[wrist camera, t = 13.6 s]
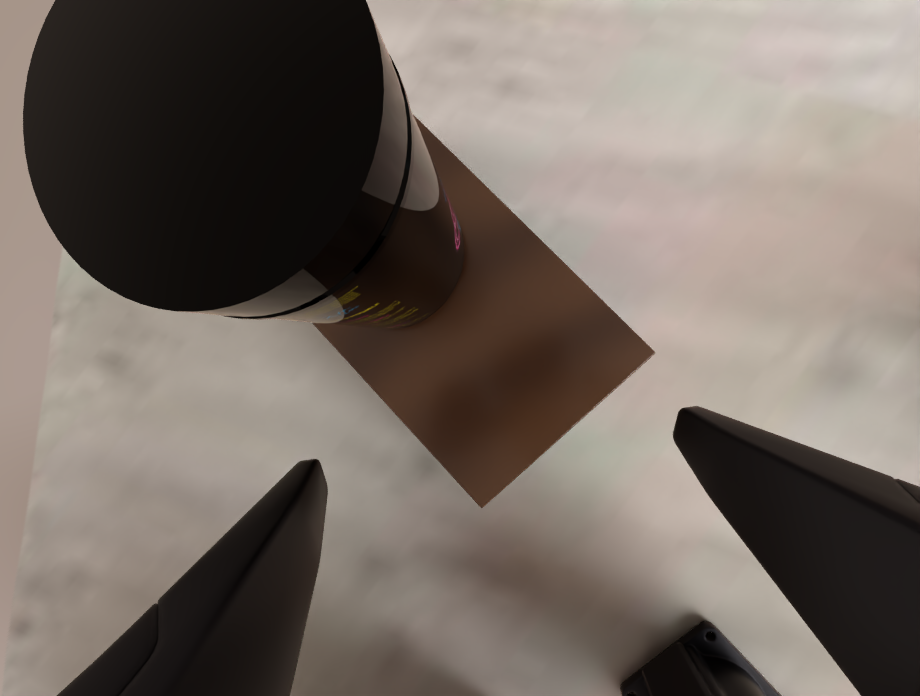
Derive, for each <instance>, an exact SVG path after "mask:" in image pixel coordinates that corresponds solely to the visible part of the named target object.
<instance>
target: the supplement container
mask: <svg viewBox="0 0 920 696" xmlns="http://www.w3.org/2000/svg"><path fill="white" fill-rule="evenodd" d="M23 134H24V145H25V154H26V159H27V164H28V170H29V174H30V178H31V182H32V185H33V189H34V192H35V194H36V197H37V200H38V202H39V205H40V208H41V210H42V212H43V214H44V216H45V218H46V220H47V222H48V224H49V226H50V227H51V229H52V231H53V232H54V234H55V236H56V237H57V239H58V240H59V242H60V243H61V244H62V246H63V247H64V248H65V250H66V251H67V252H68V254H69V255H70V256H71V257H72V258H73V259H74V260H75V261H76V262H77V263H78V265H79V266H80V267H81V268H83V269H84V270H85V271H86V272H87V273H88V274H89V275H91V276H92V277H93V278H94V279H95V280H97V281H98V282H100V283H101V284H103V285H104V286H105V287H107V288H108V289H110V290H112V291H114V292H115V293H117V294H119V295H121V296H123V297H125V298H127V299H130V300H132V301H135V302H137V303H140V304H143V305H147V306H150V307H154V308H158V309H164V310H171V311H179V312H190V313H201V314H212V315H222V316H226V317H232V318H239V319H257V320H263V319H281V320H291V321H301V322H312V323H322V324H332V325H343V326H353V327H363V328H374V329H387V330H392V329H401V328H406V327H409V326H413V325H415V324H417V323H420V322H422V321H423V320H425V319H427V318H429V317H430V316H431V315H433V314H434V313H435V312H436V311H438V310H439V309H440V308H441V307H442V306H443V305H444V304H445V302H446V301H447V300H448V299H449V297H450V296H451V294H452V293H453V291H454V289H455V287H456V285H457V283H458V281H459V278H460V276H461V272H462V268H463V263H464V252H465V251H464V238H463V233H462V229H461V226H460V223H459V220H458V218H457V216H456V213H455V211H454V209H453V206H452V204H451V202H450V199H449V197H448V195H447V192H446V190H445V188H444V185H443V183H442V181H441V178H440V176H439V174H438V172H437V169H436V167H435V165H434V162H433V160H432V158H431V155H430V153H429V151H428V148H427V146H426V144H425V141H424V139H423V137H422V134H421V132H420V130H419V128H418V125H417V123H416V121H415V118H414V116H413V114H412V111H411V109H410V105H409V101H408V97H407V94H406V91H405V88H404V86H403V83H402V80H401V78H400V75H399V73H398V71H397V69H396V67H395V65H394V63H393V60H392V58H391V57H390V55H389V53H388V51H387V49H386V46H385V44H384V42H383V39H382V37H381V35H380V32H379V30H378V28H377V25H376V23H375V21H374V18H373V16H372V14H371V11H370V9H369V6H368V4H367V2H366V0H55V2H54V4H53V6H52V8H51V10H50V11H49V13H48V15H47V17H46V19H45V22H44V24H43V27H42V29H41V31H40V34H39V36H38V39H37V42H36V45H35V48H34V51H33V54H32V58H31V63H30V67H29V71H28V75H27V82H26V89H25V96H24V109H23Z"/></svg>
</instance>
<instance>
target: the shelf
mask: <svg viewBox="0 0 920 696" xmlns="http://www.w3.org/2000/svg"><path fill="white" fill-rule="evenodd" d="M413 116H414V115H413ZM414 118H415V121H416V123H417V125H418V128H419V130H420V132H421V134H422V137H423V139H424V141H425V144H426V146H427V148H428V151H429V153H430V155H431V158H432V160H433V162H434V165H435V167H436V169H437V172H438V174H439V176H440V178H441V181H442V183H443V185H444V188H445V190H446V192H447V195H448V197H449V199H450V202H451V204H452V206H453V209H454V211H455V213H456V216H457V218H458V220H459V223H460V226H461V229H462V233H463V238H464V251H465V252H464V263H463V268H462V272H461V276H460V278H459V281H458V283H457V285H456V287H455V289H454V291H453V293H452V294H451V296H450V297H449V299H448V300H447V301H446V302H445V304H444V305H443V306H442V307H441V308H440V309H439V310H438V311H436V312H435V313H434V314H433V315H431V316H430V317H429V318H427V319H425V320H423V321H422V322H420V323H417V324H415V325H413V326H409V327H406V328H401V329H392V330H387V329H374V328H363V327H353V326H343V325H332V324H322V323H313V324H314V325H315V326H316V327H317V329H318V330H319V331H320V332H321V333H322V334H323V335H324V336H325V337H326V338H327V339H328V341H329V342H330V343H331V344H332V345H333V346H334V347H335V348H336V349H337V350H338V352H339V353H340V354H341V355H342V356H343V357H344V358H345V359H346V360H347V361H348V363H349V364H350V365H351V366H352V367H353V368H354V369H355V370H356V371H357V372H358V373H359V375H360V376H361V377H362V378H363V379H364V380H365V381H366V382H367V383H368V384H369V386H370V387H371V388H372V389H373V390H374V391H375V392H376V393H377V394H378V395H379V397H380V398H381V399H382V400H383V401H384V402H385V403H386V404H387V405H388V406H389V407H390V409H391V410H392V411H393V412H394V413H395V414H396V415H397V416H398V417H399V418H400V420H401V421H402V422H403V423H404V424H405V425H406V426H407V427H408V428H409V429H410V430H411V432H412V433H413V434H414V435H415V436H416V437H417V438H418V439H419V440H420V441H421V443H422V444H423V445H424V446H425V447H426V448H427V449H428V450H429V451H430V452H431V454H432V455H433V456H434V457H435V458H436V459H437V460H438V461H439V462H440V463H441V464H442V466H443V467H444V468H445V469H446V470H447V471H448V472H449V473H450V474H451V475H452V477H453V478H454V479H455V480H456V481H457V482H458V483H459V484H460V485H461V486H462V488H463V489H464V490H465V491H466V492H467V493H468V494H469V495H470V496H471V497H472V498H473V500H474V501H475V502H476V503H477V504H478V505H479V506H480V507H481V508H483V507H484V506H485V505H486V504H487V503H488V502H490V501H491V500H492V499H493V498H494V497H495V496H496V495H497V494H499V493H500V492H501V491H502V490H503V489H504V488H505V487H506V486H507V485H509V484H510V483H511V482H512V481H513V480H514V479H515V478H516V477H518V476H519V475H520V474H521V473H522V472H523V471H524V470H525V469H527V468H528V467H529V466H530V465H531V464H532V463H533V462H534V461H535V460H537V459H538V458H539V457H540V456H541V455H542V454H543V453H544V452H546V451H547V450H548V449H549V448H550V447H551V446H552V445H553V444H555V443H556V442H557V441H558V440H559V439H560V438H561V437H562V436H563V435H565V434H566V433H567V432H568V431H569V430H570V429H571V428H572V427H574V426H575V425H576V424H577V423H578V422H579V421H580V420H581V419H583V418H584V417H585V416H586V415H587V414H588V413H589V412H590V411H591V410H593V409H594V408H595V407H596V406H597V405H598V404H599V403H600V402H602V401H603V400H604V399H605V398H606V397H607V396H608V395H609V394H610V393H612V392H613V391H614V390H615V389H616V388H617V387H618V386H619V385H621V384H622V383H623V382H624V381H625V380H626V379H627V378H628V377H630V376H631V375H632V374H633V373H634V372H635V371H636V370H637V369H638V368H640V367H641V366H642V365H643V364H644V363H645V362H646V361H647V360H649V359H650V358H651V357H652V356H653V355H654V354H655V352H654V351H653V350H652V349H651V348H650V347H649V346H648V345H647V344H646V343H645V342H644V341H643V340H642V339H641V338H640V337H639V336H638V335H637V334H636V333H635V332H634V331H633V330H632V329H631V328H630V327H629V326H628V325H627V324H626V323H625V322H624V321H623V320H622V319H621V318H620V317H619V316H618V315H617V314H616V313H615V312H614V311H613V310H612V309H611V308H610V307H609V306H608V305H607V304H606V303H605V302H604V301H603V300H602V299H600V298H599V297H598V296H597V295H596V294H595V293H594V292H593V291H592V290H591V289H590V288H589V287H588V286H587V285H586V284H585V283H584V282H583V281H582V280H581V279H580V278H579V277H578V276H577V275H576V274H575V273H574V272H573V271H572V270H571V269H570V268H569V267H568V266H567V265H566V264H565V263H564V262H563V261H562V260H561V259H560V258H559V257H558V256H557V255H556V254H555V253H554V252H553V251H552V250H551V249H550V248H549V247H548V246H546V245H545V244H544V243H543V242H542V241H541V240H540V239H539V238H538V237H537V236H536V235H535V234H534V233H533V232H532V231H531V230H530V229H529V228H528V227H527V226H526V225H525V224H524V223H523V222H522V221H521V220H520V219H519V218H518V217H517V216H516V215H515V214H514V213H513V212H512V211H511V210H510V209H509V208H508V207H507V206H506V205H505V204H504V203H503V202H502V201H501V200H500V199H499V198H498V197H497V196H496V195H495V194H494V193H493V192H491V191H490V190H489V189H488V188H487V187H486V186H485V185H484V184H483V183H482V182H481V181H480V180H479V179H478V178H477V177H476V176H475V175H474V174H473V173H472V172H471V171H470V170H469V169H468V168H467V167H466V166H465V165H464V164H463V163H462V162H461V161H460V160H459V159H458V158H457V157H456V156H455V155H454V154H453V153H452V152H451V151H450V150H449V149H448V148H447V147H446V146H445V145H444V144H443V143H442V142H441V141H440V140H439V139H437V138H436V137H435V136H434V135H433V134H432V133H431V132H430V131H429V130H428V129H427V128H426V127H425V126H424V125H423V124H422V123H421V122H420V121H419V120H418V119H417V118H416V117H415V116H414Z"/></svg>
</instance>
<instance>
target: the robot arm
mask: <svg viewBox="0 0 920 696" xmlns="http://www.w3.org/2000/svg"><path fill="white" fill-rule="evenodd" d="M673 438H674V441H675V444H676V445H677V447H678V448H679V450H680V452H681V453H682V455H683V456H684V458H685V460H686V461H687V463H688V464H689V466H690V467H691V469H692V471H693V472H694V474H695V475H696V477H697V479H698V480H699V482H700V483H701V485H702V486H703V488H704V490H705V491H706V493H707V494H708V496H709V497H710V498H711V500H712V501H713V502H714V504H715V505H716V506H717V508H718V509H719V510H720V512H721V513H722V514H723V516H724V517H725V518H726V520H727V521H728V522H729V523H730V525H731V526H732V527H733V529H734V530H735V531H736V533H737V534H738V535H739V537H740V538H741V539H742V540H743V542H744V543H745V544H746V546H747V547H748V548H749V550H750V551H751V552H752V554H753V555H754V556H755V557H756V559H757V560H758V561H759V563H760V564H761V565H762V567H763V568H764V569H765V570H766V572H767V573H768V574H769V576H770V577H771V578H772V580H773V581H774V582H775V584H776V585H777V586H778V587H779V589H780V590H781V591H782V593H783V594H784V595H785V597H786V598H787V599H788V601H789V602H790V603H791V604H792V606H793V607H794V608H795V610H796V611H797V612H798V614H799V615H800V616H801V618H802V619H803V620H804V621H805V623H806V624H807V625H808V627H809V628H810V629H811V631H812V632H813V633H814V635H815V636H816V637H817V638H818V640H819V641H820V642H821V644H822V645H823V646H824V648H825V649H826V650H827V651H828V653H829V654H830V655H831V657H832V658H833V659H834V661H835V662H836V663H837V665H838V666H839V667H840V668H841V670H842V671H843V672H844V674H845V675H846V676H847V678H848V679H849V680H850V682H851V683H852V684H853V685H854V687H855V688H856V689H857V691H858V692H859V693H860V695H861V696H920V487H918V486H916V485H913V484H910V483H907V482H905V481H902V480H899V479H894V478H892V477H891V476H888V475H885V474H883V473H880V472H877V471H874V470H872V469H869V468H866V467H863V466H861V465H858V464H855V463H852V462H850V461H847V460H844V459H841V458H839V457H836V456H833V455H830V454H828V453H825V452H822V451H819V450H817V449H814V448H811V447H808V446H806V445H803V444H800V443H798V442H795V441H792V440H789V439H787V438H784V437H781V436H778V435H776V434H773V433H770V432H767V431H765V430H762V429H759V428H756V427H754V426H751V425H748V424H745V423H743V422H740V421H737V420H734V419H732V418H729V417H726V416H723V415H721V414H718V413H715V412H713V411H710V410H707V409H704V408H702V407H698V406H693V407H686V408H682V409H681V410H680V411H679V412H678V416H677V420H676V424H675V428H674V431H673ZM327 495H328V488H327V483H326V479H325V476H324V473H323V470H322V466H321V463H320V462H319V460H317V459H311V460H303V461H300V462H298V463H297V464H296V465H295V466H294V467H293V468H292V469H291V470H290V471H289V472H288V473H287V474H286V475H285V476H284V477H283V478H282V479H281V480H280V481H279V482H278V483H277V484H276V485H275V486H274V487H273V488H272V489H271V490H270V491H269V492H268V493H267V494H266V495H265V496H264V497H263V498H261V499H260V500H259V501H258V502H257V503H256V504H255V505H254V506H253V507H252V508H251V509H250V510H249V511H248V512H247V513H246V514H245V515H244V516H243V517H242V518H241V519H240V520H239V521H238V522H237V523H236V524H235V525H234V526H233V527H232V528H231V529H230V530H229V531H228V532H227V533H226V534H225V535H224V536H223V537H222V538H221V539H220V540H219V541H218V542H217V543H216V544H215V545H214V546H213V547H212V548H211V549H210V550H209V551H208V552H207V553H206V554H205V555H204V556H203V557H201V558H200V559H199V560H198V561H197V562H196V563H195V564H194V565H193V566H192V567H191V568H190V569H189V570H188V571H187V572H186V573H185V574H184V575H183V576H182V577H181V578H180V579H179V580H178V581H177V582H176V583H175V584H174V585H173V586H172V587H171V588H170V589H169V590H168V591H167V592H166V593H165V594H164V595H163V596H162V597H161V598H160V599H159V600H158V604H154V605H152V606H151V607H150V608H149V609H148V610H147V611H146V612H145V613H144V614H143V615H142V616H141V617H140V618H139V619H138V620H137V621H136V622H135V623H134V624H133V625H132V626H131V627H130V628H129V629H128V630H127V631H126V632H125V633H124V634H123V635H122V636H121V637H120V638H119V639H117V640H116V641H115V642H114V643H113V644H112V645H111V646H110V647H109V648H108V649H107V650H106V651H105V652H104V653H103V654H102V655H101V656H100V657H99V658H98V659H97V660H95V661H94V662H93V663H92V664H91V665H90V666H89V667H88V668H87V669H86V670H84V671H83V672H82V673H81V674H80V675H79V676H78V677H77V678H76V679H75V680H73V681H72V682H71V683H70V684H69V685H68V686H67V687H66V688H65V689H64V690H62V691H61V692H60V693H59V694H58V695H57V696H290V692H291V688H292V684H293V679H294V675H295V670H296V666H297V661H298V657H299V652H300V648H301V644H302V639H303V635H304V630H305V626H306V621H307V617H308V613H309V608H310V604H311V599H312V595H313V590H314V586H315V581H316V577H317V573H318V568H319V562H320V556H321V549H322V540H323V531H324V522H325V513H326V504H327ZM707 632H712V633H711V634H710V635H706V633H707ZM620 690H621V694H622V696H781V695H780V694H779V693H778V692H777V691H776V690H775V689H774V688H773V686H772V685H771V684H770V683H769V682H768V681H767V680H766V679H765V678H764V677H763V676H762V675H761V674H760V673H759V672H758V671H757V670H756V669H755V668H754V666H753V665H752V664H751V663H750V662H749V661H748V660H747V659H746V658H745V657H744V656H743V655H742V654H741V653H740V652H739V651H738V650H737V649H736V648H735V646H734V645H733V644H732V643H731V642H730V641H729V640H728V639H727V638H726V637H725V636H724V635H723V634H722V633H721V632H720V631H719V630H718V629H717V628H716V627H715V625H713V624H712V623H711V622H707V621H706V622H701V623H700V624H698V625H697V626H696V627H694V628H693V629H692V630H690V631H689V632H688V633H687V634H685V635H684V636H683V637H681V638H680V639H679V640H677V641H676V642H675V643H673V644H672V645H671V646H670V647H668V648H667V649H666V650H664V651H663V652H662V653H660V654H659V655H658V656H657V657H655V658H654V659H653V660H651V661H650V662H649V663H647V664H646V665H645V666H644V667H642V668H641V669H640V670H638V671H637V672H636V673H634V674H633V675H632V676H631V677H629V678H628V679H627V680H625V681H624V682H623V683H622V684H621V687H620ZM629 692H633V693H632V694H628V693H629Z"/></svg>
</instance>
